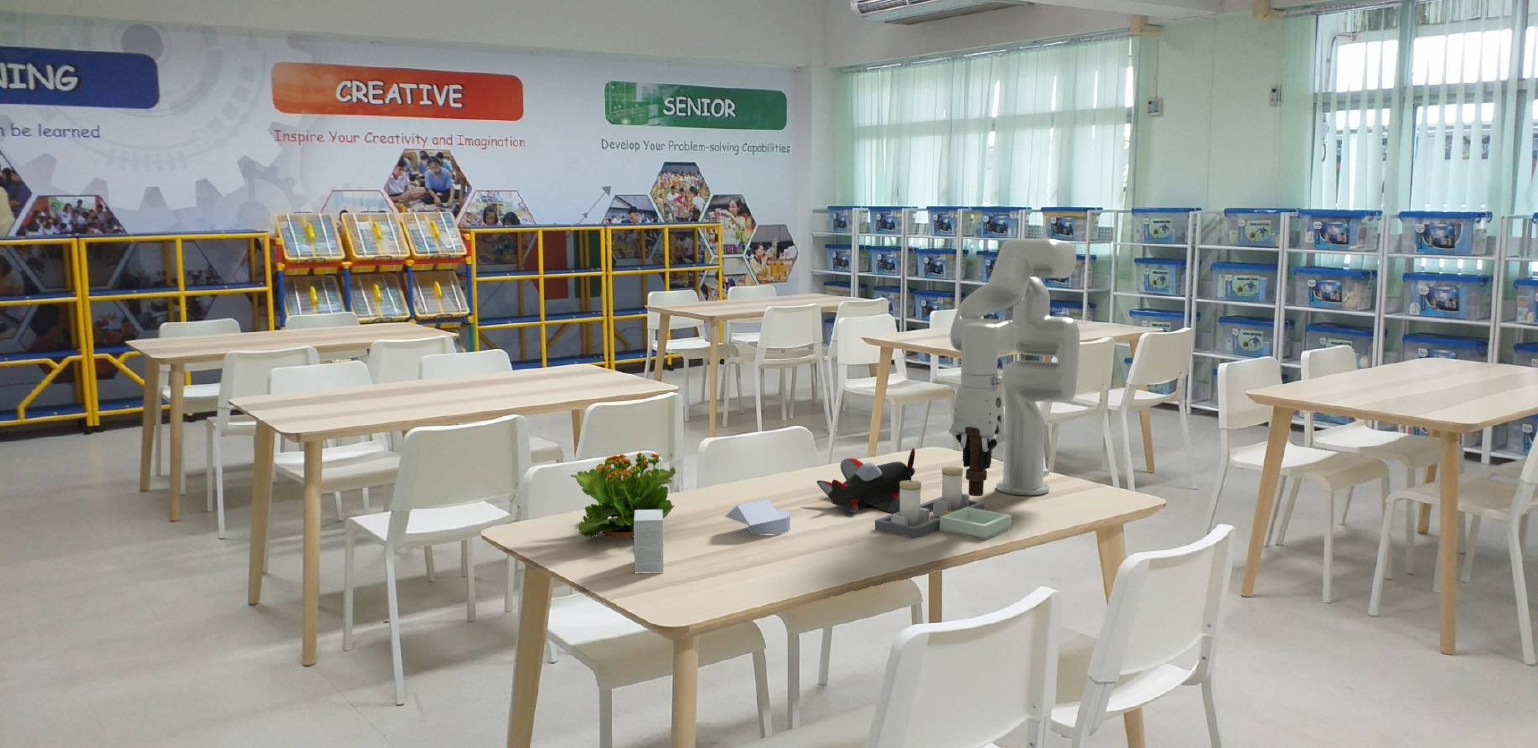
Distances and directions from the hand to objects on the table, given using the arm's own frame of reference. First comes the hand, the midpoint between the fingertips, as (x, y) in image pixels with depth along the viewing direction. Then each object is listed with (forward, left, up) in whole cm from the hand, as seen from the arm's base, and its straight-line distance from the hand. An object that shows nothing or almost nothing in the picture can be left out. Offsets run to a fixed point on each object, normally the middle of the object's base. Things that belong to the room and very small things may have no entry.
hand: (976, 466), depth 249 cm
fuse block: (-1, -12, -14) cm, 18 cm away
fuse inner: (-9, -12, -14) cm, 20 cm away
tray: (0, 0, -14) cm, 14 cm away
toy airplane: (-4, -30, -14) cm, 34 cm away
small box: (+63, -35, -14) cm, 73 cm away
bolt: (0, 0, -6) cm, 6 cm away
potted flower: (+49, -57, -14) cm, 76 cm away
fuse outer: (+8, -12, -14) cm, 20 cm away
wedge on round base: (+30, -35, -14) cm, 48 cm away
